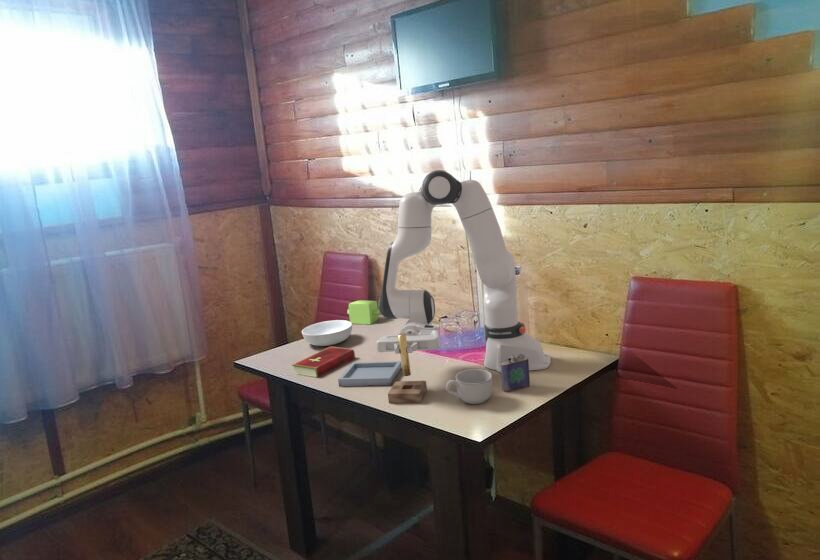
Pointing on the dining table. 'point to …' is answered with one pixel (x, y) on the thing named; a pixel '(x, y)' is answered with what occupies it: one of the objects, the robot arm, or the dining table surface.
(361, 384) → the tray
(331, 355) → the hardcover book
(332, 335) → the serving bowl
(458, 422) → the dining table surface
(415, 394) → the pin block
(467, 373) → the teacup
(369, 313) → the gearbox
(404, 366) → the pin
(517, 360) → the flask
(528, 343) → the robot arm
